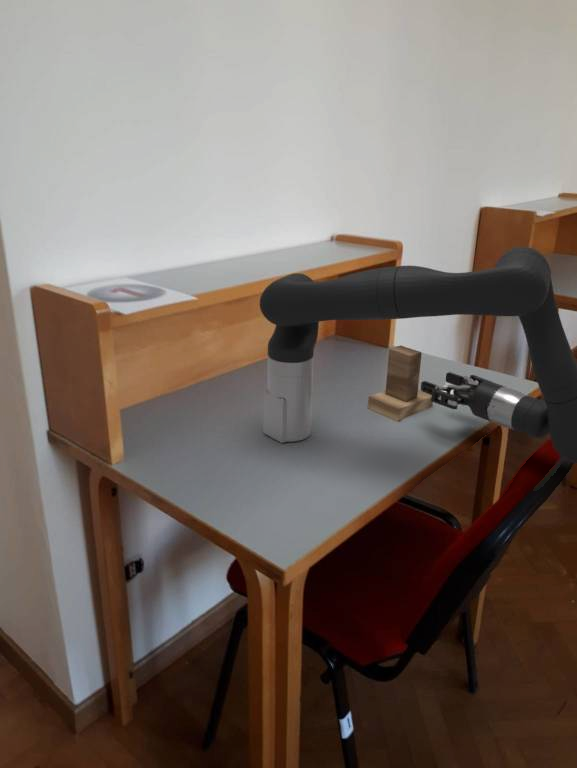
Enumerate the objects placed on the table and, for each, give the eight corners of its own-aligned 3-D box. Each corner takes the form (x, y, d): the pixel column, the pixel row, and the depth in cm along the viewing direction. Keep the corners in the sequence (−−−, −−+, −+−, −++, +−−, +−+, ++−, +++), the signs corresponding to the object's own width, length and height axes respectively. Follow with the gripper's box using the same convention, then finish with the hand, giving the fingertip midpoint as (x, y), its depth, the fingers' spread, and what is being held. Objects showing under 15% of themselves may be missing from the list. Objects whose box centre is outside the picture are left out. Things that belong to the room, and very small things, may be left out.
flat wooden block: (397, 421, 140) (398, 409, 139) (367, 408, 146) (368, 396, 145) (432, 407, 147) (433, 395, 146) (402, 395, 154) (403, 384, 152)
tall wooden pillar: (405, 402, 142) (409, 355, 138) (385, 394, 147) (389, 348, 142) (417, 398, 145) (421, 352, 141) (396, 390, 149) (400, 345, 145)
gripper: (523, 379, 129) (456, 357, 140) (482, 396, 120) (414, 371, 131) (517, 413, 131) (452, 389, 143) (477, 432, 123) (411, 405, 134)
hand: (434, 381), depth 137 cm, fingers open, 8 cm apart
